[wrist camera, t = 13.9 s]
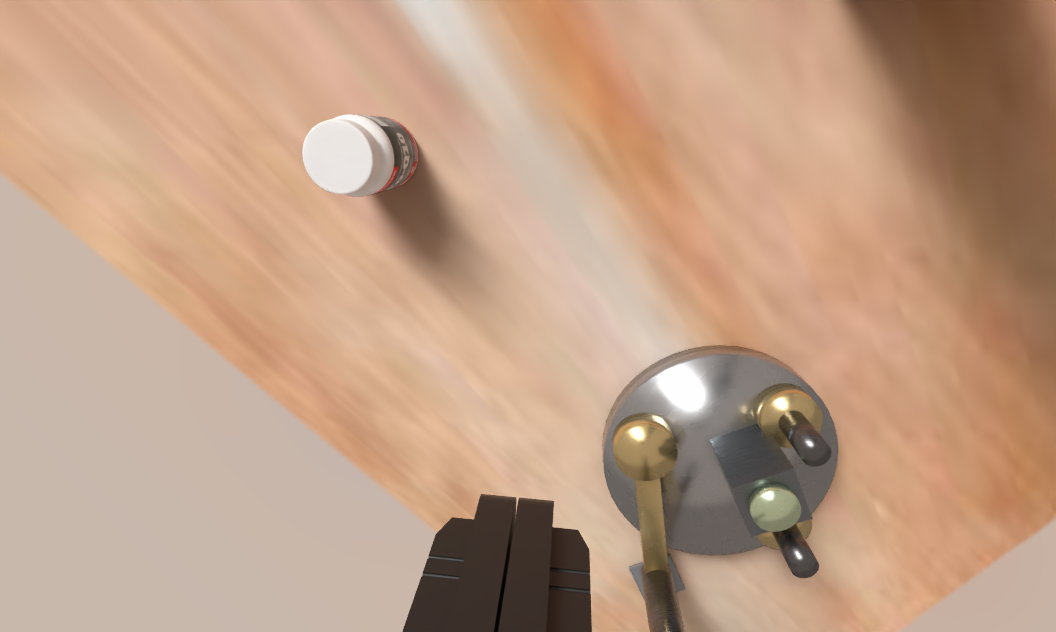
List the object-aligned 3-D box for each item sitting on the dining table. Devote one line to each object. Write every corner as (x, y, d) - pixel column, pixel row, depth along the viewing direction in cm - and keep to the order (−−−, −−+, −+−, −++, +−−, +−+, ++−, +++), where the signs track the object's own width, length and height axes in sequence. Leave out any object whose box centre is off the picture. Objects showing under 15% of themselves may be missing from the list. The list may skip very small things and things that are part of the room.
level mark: (669, 554, 47) (670, 556, 47) (684, 586, 48) (684, 589, 48) (629, 566, 48) (629, 569, 48) (644, 598, 49) (644, 600, 49)
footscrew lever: (609, 416, 41) (627, 551, 28) (670, 409, 41) (718, 544, 28) (629, 584, 46) (653, 769, 33) (684, 581, 45) (731, 767, 32)
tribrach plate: (788, 310, 40) (845, 358, 32) (852, 500, 45) (916, 585, 36) (568, 393, 44) (568, 455, 35) (647, 562, 48) (663, 653, 40)
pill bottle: (413, 195, 40) (374, 211, 32) (348, 179, 40) (292, 192, 32) (424, 125, 38) (385, 124, 30) (356, 109, 38) (299, 104, 30)
